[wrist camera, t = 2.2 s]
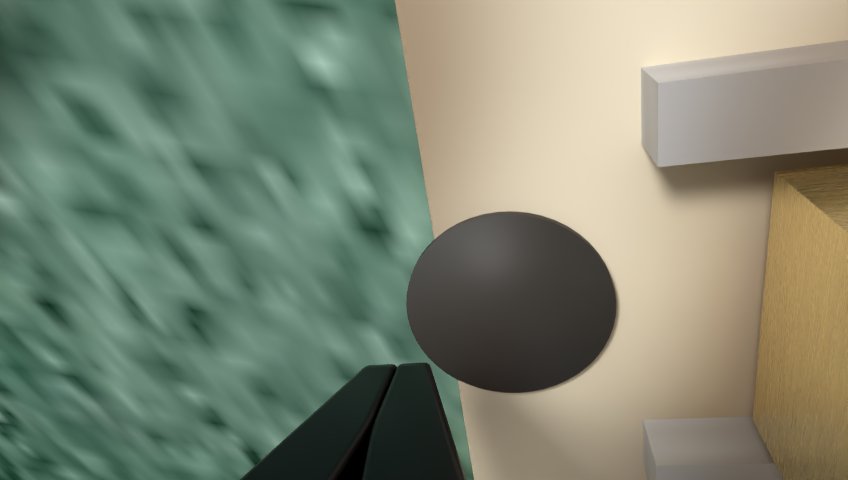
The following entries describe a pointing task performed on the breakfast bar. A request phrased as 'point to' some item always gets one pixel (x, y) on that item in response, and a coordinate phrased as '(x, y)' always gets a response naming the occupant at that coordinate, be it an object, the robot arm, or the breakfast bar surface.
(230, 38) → the breakfast bar surface
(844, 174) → the block
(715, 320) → the plate
